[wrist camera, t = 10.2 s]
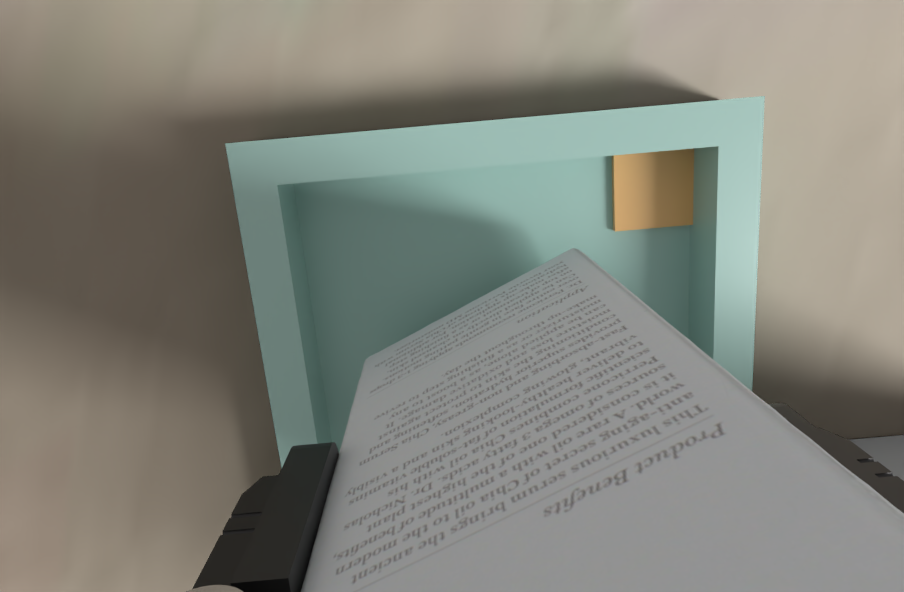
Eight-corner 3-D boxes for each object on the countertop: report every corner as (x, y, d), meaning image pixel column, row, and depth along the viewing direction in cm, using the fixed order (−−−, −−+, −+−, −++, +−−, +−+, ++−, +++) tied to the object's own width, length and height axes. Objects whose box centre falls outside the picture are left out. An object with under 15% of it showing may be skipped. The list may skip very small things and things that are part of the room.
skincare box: (445, 487, 17) (461, 1289, 5) (362, 355, 16) (154, 983, 4) (653, 383, 16) (1203, 1032, 5) (580, 238, 15) (1048, 600, 4)
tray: (318, 545, 19) (303, 597, 17) (252, 141, 16) (224, 143, 14) (711, 510, 19) (744, 558, 17) (721, 100, 16) (764, 95, 14)
